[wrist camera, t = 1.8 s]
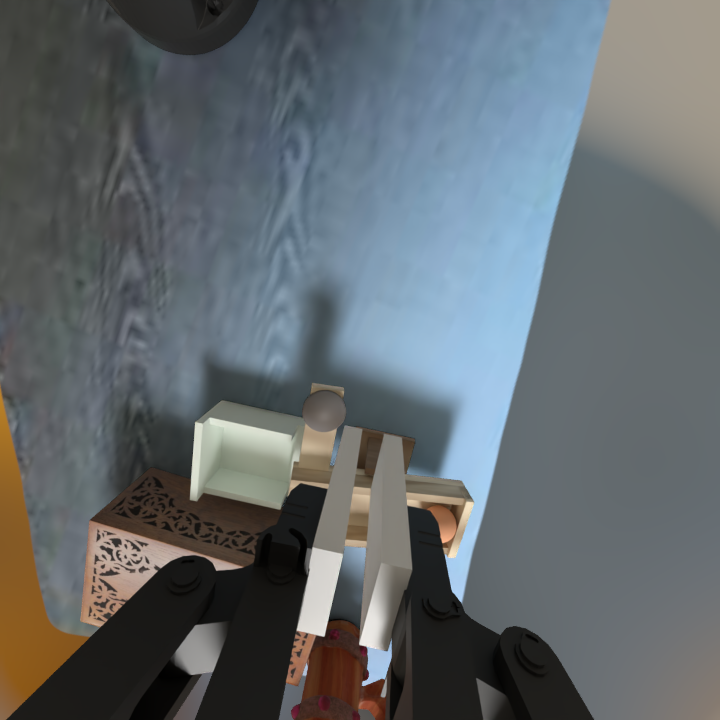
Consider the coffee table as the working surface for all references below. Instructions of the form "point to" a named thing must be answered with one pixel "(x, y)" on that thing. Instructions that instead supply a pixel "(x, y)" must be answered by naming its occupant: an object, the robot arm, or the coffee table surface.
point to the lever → (314, 469)
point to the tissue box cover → (170, 544)
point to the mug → (339, 678)
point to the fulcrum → (372, 447)
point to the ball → (444, 522)
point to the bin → (245, 454)
